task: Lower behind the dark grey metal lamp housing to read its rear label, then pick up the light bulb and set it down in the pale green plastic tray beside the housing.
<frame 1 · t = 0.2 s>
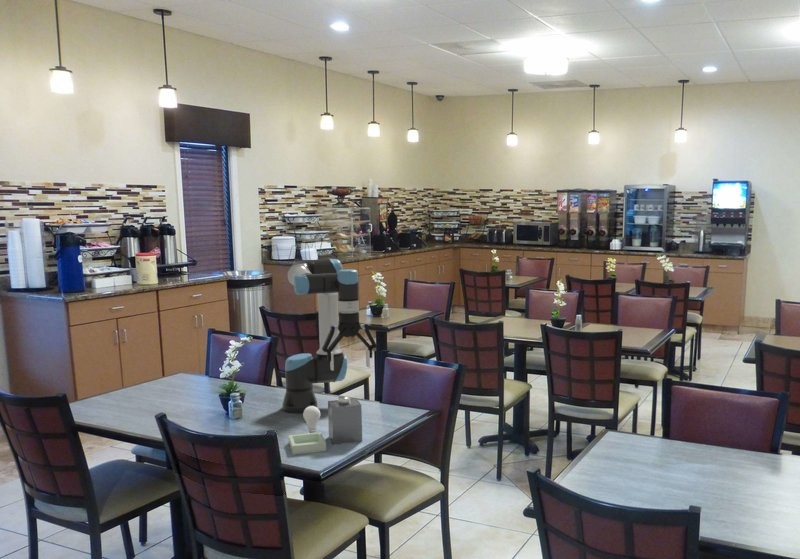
hand: (350, 368, 254), 28 cm above the table, fingers open, 13 cm apart
tray: (307, 447, 250), on the table
housing: (345, 439, 258), on the table
light bulb: (312, 434, 265), on the table
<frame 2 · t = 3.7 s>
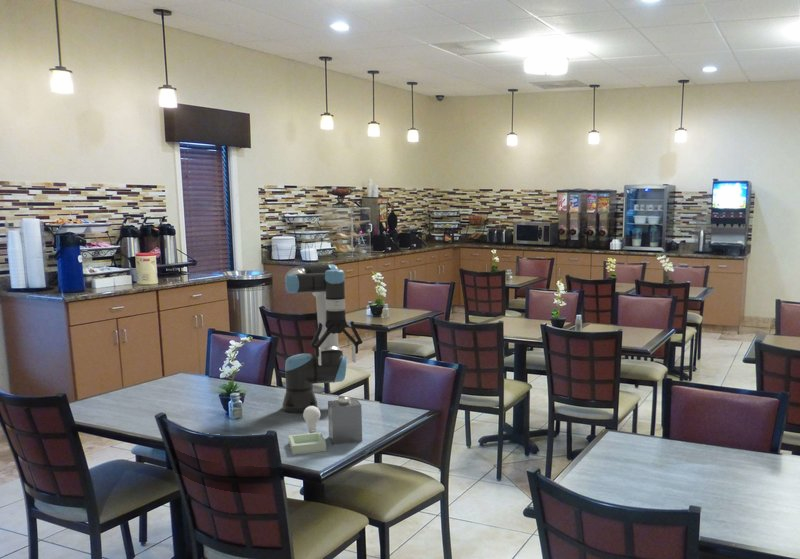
hand: (337, 363, 268), 26 cm above the table, fingers open, 13 cm apart
nothing on the table moved.
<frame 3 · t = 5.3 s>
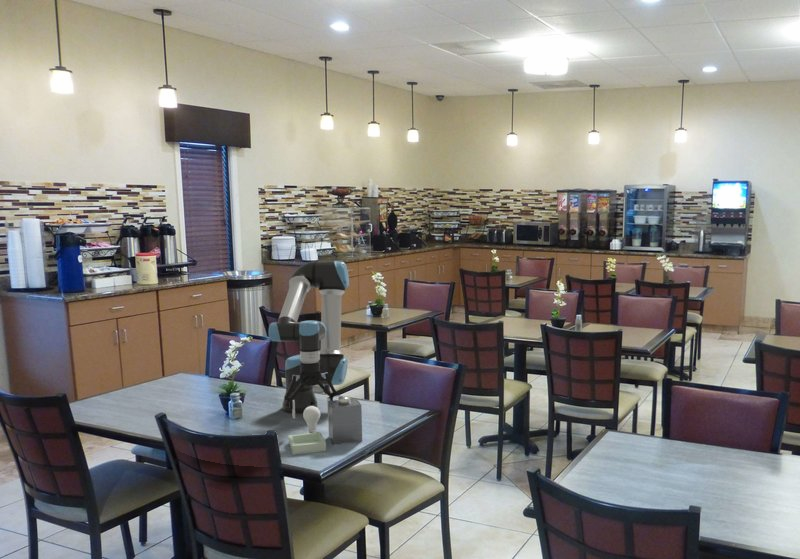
hand: (311, 415, 264), 7 cm above the table, fingers open, 13 cm apart
nothing on the table moved.
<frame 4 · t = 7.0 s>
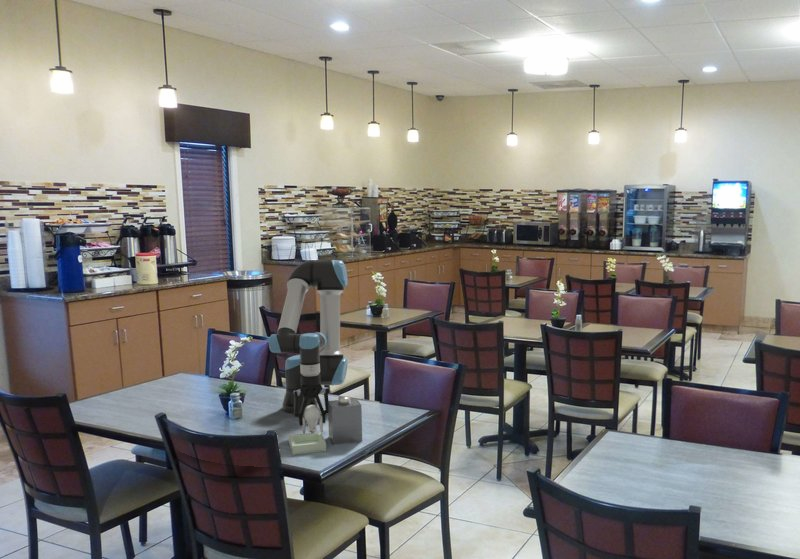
hand: (312, 432, 265), 1 cm above the table, fingers closed on light bulb, 6 cm apart
light bulb: (312, 433, 265), on the table, touching gripper
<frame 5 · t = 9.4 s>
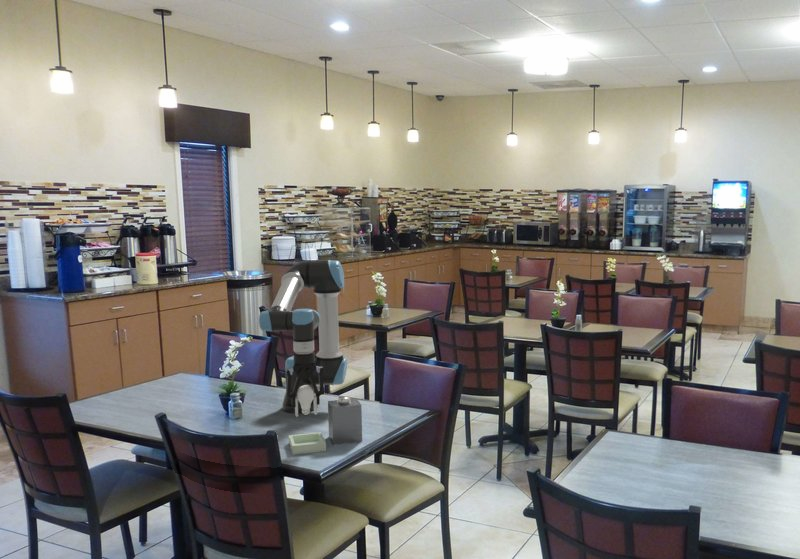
hand: (306, 414, 249), 12 cm above the table, fingers closed on light bulb, 6 cm apart
light bulb: (306, 415, 249), point 12 cm above the table, touching gripper
when the fingers open (3 cm above the table, at t = 12.4 s): light bulb stays where it is, resting on tray.
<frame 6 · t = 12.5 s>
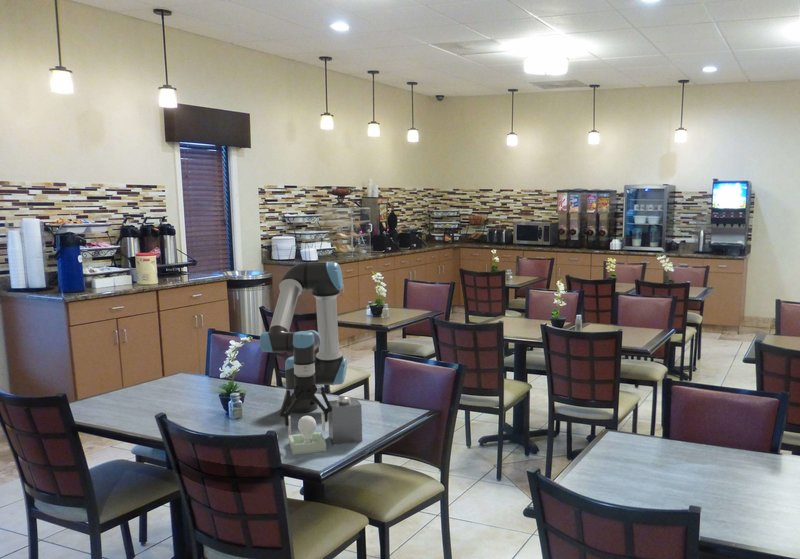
hand: (306, 432, 250), 5 cm above the table, fingers open, 12 cm apart
light bulb: (307, 445, 251), resting on tray
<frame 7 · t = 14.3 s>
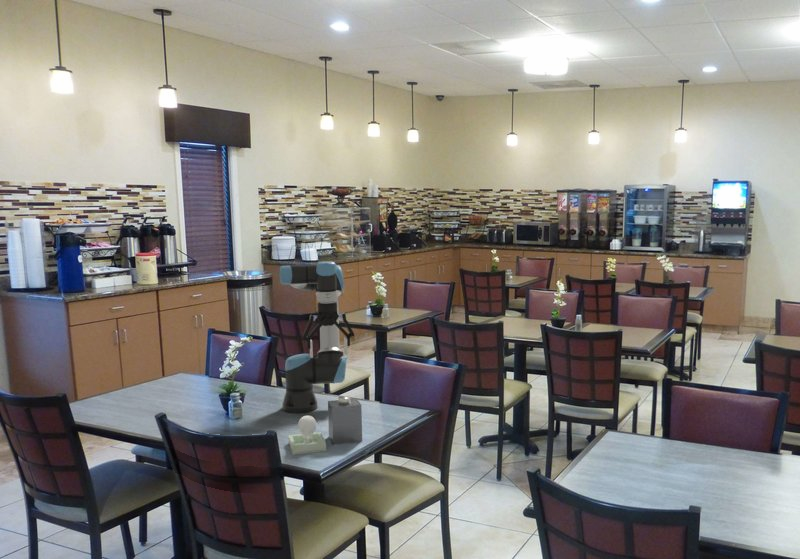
hand: (328, 355, 267), 30 cm above the table, fingers open, 13 cm apart
nothing on the table moved.
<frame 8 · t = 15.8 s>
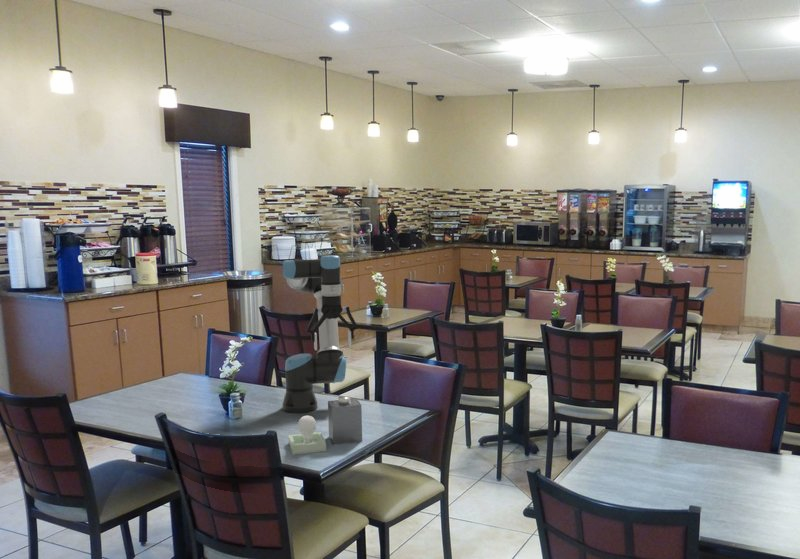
hand: (332, 348, 270), 32 cm above the table, fingers open, 13 cm apart
nothing on the table moved.
at the end: light bulb inside the target area on the tray (0.4 cm from its centre), point 0.4 cm above the tray's base; the gripper is holding nothing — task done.
